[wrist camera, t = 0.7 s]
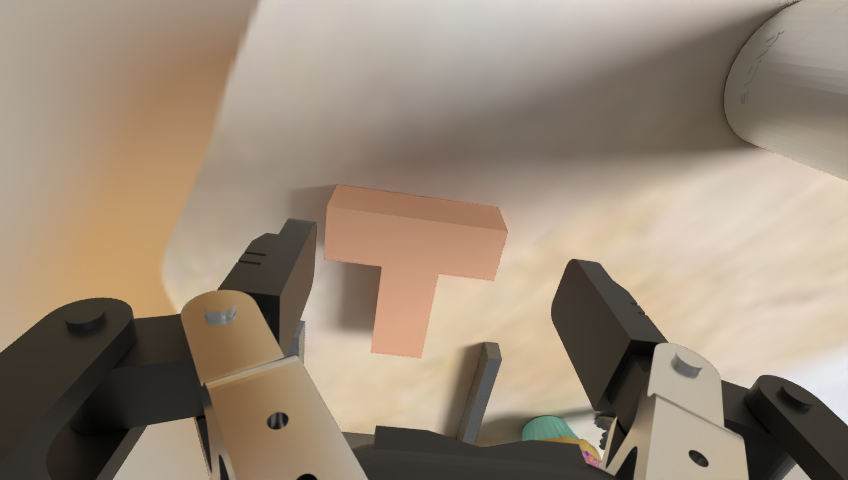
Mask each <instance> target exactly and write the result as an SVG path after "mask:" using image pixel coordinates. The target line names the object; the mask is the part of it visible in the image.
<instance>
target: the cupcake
mask: <svg viewBox="0 0 848 480" xmlns="http://www.w3.org/2000/svg"><path fill="white" fill-rule="evenodd" d="M526 440H540V441H551V442H562V443H573V444H579V446H580V448H581V451H582V453H583V456H584V459H585V461H586V463H588V464H591V465H594V466H596V467H598V468H600V467H601V463H602V460H601V457H600V455H599V453H598V451H597V450H596V448H595V447H594V446H592V445H591V444H589V443H588V442H587V441H586V440H583V439H579V438H578V437H577V436H576V435H575V434H574V433H573V431H572V430H571V429H570V428H569V426H568V425H567V423H566V422H565V421H564V420H562V419H561V418H558V417H555V416H542V417H538V418H535V419H533V420H531V421H530V422H528V423H527V424H526V425H525V427H524V428H523V431H522V441H526Z"/></svg>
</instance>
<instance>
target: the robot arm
mask: <svg viewBox="0 0 848 480" xmlns="http://www.w3.org/2000/svg"><path fill="white" fill-rule="evenodd" d="M724 111H725V114H726V118H727V121H728V123H729V125H730V126H731V128H732V130H733V131H734V133H735V134H737V135H738V136H739V137H740V138H741V139H743V140H744V141H746V142H749V143H751V144H753V145H756V146H758V147H761V148H764V149H766V150H769V151H772V152H774V153H777V154H779V155H782V156H785V157H787V158H790V159H792V160H794V161H797V162H800V163H802V164H805V165H807V166H810V167H813V168H815V169H818V170H821V171H823V172H826V173H828V174H831V175H834V176H836V177H839V178H842V179H844V180H847V181H848V0H801V1H799V2H797V3H795V4H793V5H791V6H789V7H787V8H785V9H783V10H782V11H780V12H779V13H777V14H776V15H775V16H773V17H772V18H770V19H769V20H768V21H767V22H765V23H764V24H763V25H762V26H761V27H760V28H759V29H758V30H757V31H756V32H755V33H754V34H753V35H752V36H751V38H750V39H749V40H748V41H747V43H746V44H745V45H744V47H743V48H742V49H741V51H740V53H739V54H738V56H737V58H736V60H735V61H734V63H733V65H732V67H731V70H730V73H729V76H728V78H727V81H726V87H725V92H724ZM316 234H317V225H316V222H310V221H303V220H296V219H288V220H287V222H286V223H285V225H284V227H283V228H282V230H281V232H280V233H279V235H278V234H270V233H266V234H264V235H262V236H260V237H258V238H257V239H255V240H253V241H252V242H251V243H250V245H249V246H248V248H247V249H246V250H245V253H244V254H243V255H242V256H241V257H240V259H239V261H238V262H237V263H236V264H235V266H234V267H233V269H232V270H231V271H230V273H229V274H228V276H227V277H226V278H225V280H224V281H223V283H222V284H221V285H220V287H219V288H218V290H217V291H211V292H207V293H204V294H201V295H199V296H197V297H195V298H193V299H192V300H190V301H189V302H188V303H187V304H186V305H185V306H184V307H183V309H182V311H181V314H176V315H170V316H159V317H149V318H137V319H134V317H133V312H132V308H131V307H130V306H129V305H128V304H127V303H126V302H123V301H121V300H118V299H112V298H92V299H85V300H80V301H76V302H72V303H70V304H67V305H64V306H62V307H60V308H58V309H56V310H54V311H52V312H51V313H49V314H48V315H46V316H45V317H44V318H43V319H41V320H40V321H39V322H38V323H36V324H35V325H34V326H33V327H32V328H30V329H29V330H28V331H27V332H25V333H24V334H23V335H22V336H21V337H19V338H18V339H17V340H16V341H14V342H13V343H12V344H11V345H10V346H8V347H7V348H6V349H5V350H3V351H2V352H1V353H0V480H113V478H114V477H115V475H116V473H117V472H118V470H119V469H120V467H121V466H122V464H123V463H124V461H125V459H126V458H127V456H128V455H129V453H130V452H131V450H132V449H133V447H134V445H135V444H136V442H137V441H138V439H139V438H140V436H141V435H142V433H143V431H144V430H145V428H146V427H147V425H151V424H157V423H162V422H168V421H173V420H179V419H185V418H190V417H193V418H194V422H195V425H196V429H197V433H198V437H199V441H200V444H201V448H202V452H203V456H204V459H205V463H206V467H207V471H208V475H209V478H210V480H782V479H783V478H784V477H785V476H786V475H787V474H788V473H789V471H790V470H791V469H792V468H793V467H794V466H795V465H796V464H798V465H799V466H800V467H801V468H802V470H803V471H804V472H805V473H806V474H807V475H808V476H809V478H810V479H811V480H848V426H847V425H846V424H845V423H844V422H843V421H842V420H841V419H840V418H839V417H838V416H837V415H836V414H835V413H834V412H832V411H831V410H830V409H829V408H828V407H827V406H826V405H825V404H824V403H823V402H822V401H820V400H819V399H818V398H817V397H816V396H814V395H813V394H812V393H810V392H809V391H807V390H806V389H804V388H802V387H801V386H799V385H797V384H795V383H793V382H791V381H788V380H786V379H783V378H780V377H777V376H772V375H762V376H760V377H759V378H758V379H757V380H756V382H755V383H754V384H753V386H752V387H751V388H750V389H747V388H744V387H741V386H738V385H735V384H732V383H729V382H726V381H723V380H721V378H720V375H719V373H718V371H717V370H716V368H715V367H714V366H713V365H712V364H711V363H710V362H709V361H708V360H706V359H705V358H704V357H702V356H701V355H699V354H698V353H696V352H694V351H693V350H690V349H688V348H686V347H684V346H681V345H678V344H673V343H669V342H668V341H667V340H666V339H665V337H664V336H663V335H662V334H661V332H660V331H659V330H658V328H657V327H656V326H655V325H654V323H653V322H652V321H651V320H650V318H649V317H648V316H647V315H645V312H644V311H643V310H642V308H641V307H640V306H638V305H637V302H636V301H635V300H634V298H633V297H632V296H631V295H630V293H629V292H628V291H627V290H625V289H624V288H623V287H621V286H620V285H619V284H617V283H616V282H615V281H613V280H612V279H611V277H610V276H609V275H608V273H607V272H606V271H605V270H604V268H603V267H602V266H601V264H600V263H598V262H592V261H585V260H578V259H572V260H570V261H569V262H568V264H567V266H566V268H565V271H564V274H563V276H562V279H561V281H560V284H559V286H558V289H557V292H556V294H555V297H554V299H553V302H552V307H551V317H552V321H553V324H554V326H555V328H556V330H557V332H558V334H559V336H560V339H561V341H562V343H563V345H564V347H565V349H566V351H567V353H568V356H569V358H570V360H571V362H572V364H573V366H574V368H575V371H576V373H577V375H578V377H579V379H580V381H581V383H582V385H583V388H584V390H585V392H586V394H587V396H588V398H589V400H590V402H591V405H592V407H593V409H594V410H595V411H605V412H615V414H616V418H615V420H614V422H613V423H612V425H611V428H610V431H609V435H608V439H607V443H606V447H605V451H604V455H603V459H602V463H601V467H600V468H598V467H596V466H594V465H591V464H588V463H586V461H585V459H584V456H583V453H582V451H581V448H580V446H579V444H573V443H562V442H551V441H540V440H526V441H520V442H514V443H508V444H503V445H497V446H491V447H478V446H475V445H472V444H468V443H465V442H462V441H459V440H456V439H453V438H450V437H447V436H444V435H441V434H438V433H435V432H431V431H428V430H419V429H408V428H397V427H386V426H376V429H375V435H374V440H373V443H369V444H364V445H360V446H357V447H353V448H350V447H349V445H348V443H347V441H346V439H345V438H344V436H343V434H342V432H341V431H340V429H339V427H338V425H337V424H336V422H335V420H334V418H333V416H332V415H331V413H330V411H329V409H328V408H327V406H326V404H325V402H324V400H323V399H322V397H321V395H320V393H319V392H318V390H317V388H316V386H315V385H314V383H313V381H312V379H311V377H310V376H309V374H308V372H307V370H306V369H305V367H304V365H303V363H302V362H301V360H300V359H299V357H298V356H296V355H295V354H293V355H290V356H287V354H288V351H289V349H290V346H291V343H292V340H293V338H294V335H295V332H296V329H297V327H298V324H299V321H300V318H301V316H302V313H303V310H304V308H305V305H306V302H307V299H308V297H309V294H310V291H311V287H312V283H313V277H314V268H315V251H316Z"/></svg>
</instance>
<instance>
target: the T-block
mask: <svg viewBox="0 0 848 480" xmlns="http://www.w3.org/2000/svg"><path fill="white" fill-rule="evenodd" d="M507 233H508V230H507V228H506V226H505V223H504V221H503V218H502V216H501V214H500V211H499V209H498V207H492V206H485V205H478V204H471V203H464V202H457V201H450V200H443V199H436V198H429V197H422V196H415V195H408V194H401V193H394V192H387V191H380V190H373V189H366V188H359V187H352V186H345V185H338V184H337V186H336V188H335V190H334V192H333V194H332V196H331V198H330V201H329V203H328V205H327V210H326V229H325V248H324V259H326V260H334V261H341V262H349V263H357V264H365V265H373V266H381V267H382V270H381V277H380V285H379V293H378V300H377V308H376V316H375V323H374V331H373V339H372V346H371V353H379V354H388V355H397V356H406V357H415V358H421V356H422V351H423V346H424V342H425V337H426V332H427V327H428V322H429V317H430V313H431V308H432V303H433V298H434V293H435V289H436V284H437V279H438V274H443V275H451V276H459V277H467V278H475V279H482V280H490V281H494V279H495V275H496V272H497V268H498V265H499V261H500V258H501V254H502V251H503V247H504V244H505V240H506V237H507Z"/></svg>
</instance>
